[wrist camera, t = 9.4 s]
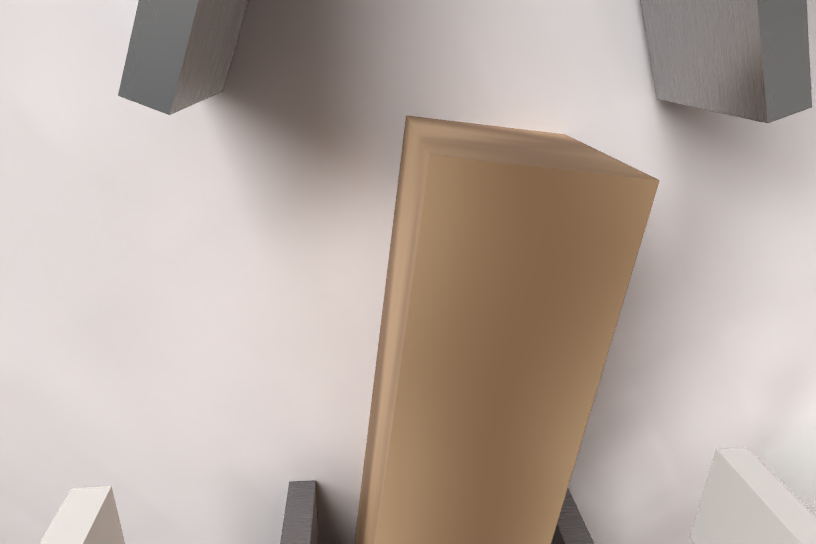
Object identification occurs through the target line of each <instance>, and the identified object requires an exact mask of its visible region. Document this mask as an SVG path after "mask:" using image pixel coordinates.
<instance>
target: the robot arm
mask: <svg viewBox="0 0 816 544" xmlns="http://www.w3.org/2000/svg"><path fill="white" fill-rule="evenodd" d="M690 539H691V540H692V542H693V543H694V544H816V517H815V516H814V515H813V514H812V513H811V512H810V511H809V510H808V509H807V508H806V507H805V506H804V505H803V503H802V502H801V501H800V500H799V499H798V498H797V497H796V496H795V495H794V494H793V493H792V492H791V491H790V490H789V489H788V488H787V487H786V486H785V485H784V484H783V483H782V482H781V481H780V480H779V479H778V478H777V477H776V476H775V475H774V474H773V473H772V472H771V471H770V470H769V469H768V468H767V467H766V466H765V465H764V464H763V463H762V462H761V461H760V460H759V459H758V458H757V456H756V455H755V454H754V453H753V452H752V451H751V450H750V449H749V448H748V447H741V448H725V449H716V452H715V455H714V458H713V462H712V465H711V468H710V472H709V475H708V478H707V482H706V485H705V488H704V492H703V495H702V498H701V502H700V505H699V508H698V512H697V515H696V518H695V522H694V525H693V528H692V532H691V535H690ZM39 544H125V542H124V538H123V533H122V529H121V525H120V521H119V516H118V512H117V508H116V504H115V499H114V495H113V491H112V486H103V487H87V488H71V490H70V491H69V493H68V495H67V496H66V498H65V500H64V502H63V503H62V505H61V507H60V509H59V510H58V512H57V514H56V515H55V517H54V519H53V521H52V522H51V524H50V526H49V528H48V529H47V531H46V533H45V534H44V536H43V538H42V540H41V541H40V543H39Z"/></svg>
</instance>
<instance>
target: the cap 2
mask: <svg viewBox="0 0 816 544" xmlns="http://www.w3.org/2000/svg"><path fill="white" fill-rule="evenodd" d="M280 544H319V542H318V522H317V502H316V481H297V482H289V488H288V494H287V501H286V508H285V515H284V522H283V529H282V536H281V543H280ZM551 544H594V542H593V540H592V538H591V536H590V534H589V532H588V530H587V528H586V525H585V523H584V521H583V519H582V517H581V515H580V513H579V510H578V508H577V506H576V504H575V502H574V500H573V498H572V496H571V493H570V491H569V489H568V488H567V491H566V495H565V498H564V502H563V505H562V508H561V512H560V515H559V518H558V522H557V525H556V528H555V532H554V535H553V538H552V542H551Z"/></svg>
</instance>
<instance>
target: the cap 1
mask: <svg viewBox="0 0 816 544" xmlns="http://www.w3.org/2000/svg"><path fill="white" fill-rule="evenodd" d="M247 4H248V0H139V2H138V7H137V11H136V16H135V21H134V25H133V30H132V34H131V39H130V43H129V48H128V53H127V57H126V62H125V66H124V71H123V76H122V80H121V85H120V89H119V94H118V96H121V97H123V98H126V99H128V100H131V101H134V102H136V103H139V104H142V105H144V106H147V107H150V108H152V109H155V110H158V111H160V112H163V113H166V114H168V115H171V114H173V113H175V112H178V111H180V110H182V109H184V108H187V107H189V106H191V105H193V104H196V103H198V102H200V101H202V100H205V99H207V98H209V97H211V96H214V95H216V94H218V93H220V92H223V89H224V86H225V82H226V79H227V75H228V71H229V68H230V64H231V61H232V57H233V54H234V50H235V47H236V43H237V39H238V36H239V32H240V29H241V25H242V22H243V18H244V14H245V11H246V7H247ZM641 6H642V12H643V18H644V24H645V30H646V36H647V42H648V48H649V55H650V61H651V67H652V73H653V79H654V85H655V91H656V97H657V99H659V100H664V101H668V102H673V103H677V104H682V105H687V106H691V107H696V108H700V109H705V110H709V111H714V112H719V113H723V114H728V115H732V116H737V117H741V118H746V119H750V120H755V121H760V122H764V123H770V122H773V121H775V120H778V119H781V118H784V117H786V116H789V115H792V114H795V113H797V112H800V111H803V110H806V109H808V108H811V107H812V98H811V79H810V60H809V42H808V23H807V4H806V0H641Z"/></svg>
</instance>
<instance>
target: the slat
mask: <svg viewBox="0 0 816 544" xmlns="http://www.w3.org/2000/svg"><path fill="white" fill-rule="evenodd" d="M658 184H659V180H658V179H656V178H654V177H652V176H649V175H647V174H645V173H643V172H641V171H639V170H637V169H635V168H633V167H631V166H629V165H627V164H625V163H623V162H621V161H619V160H617V159H615V158H612V157H610V156H608V155H606V154H604V153H602V152H600V151H598V150H596V149H594V148H592V147H590V146H588V145H586V144H584V143H582V142H580V141H577V140H575V139H573V138H571V137H569V136H567V135H565V134H556V133H548V132H540V131H531V130H523V129H514V128H506V127H498V126H489V125H481V124H472V123H464V122H455V121H447V120H439V119H430V118H422V117H413V116H406V121H405V130H404V138H403V146H402V154H401V163H400V171H399V179H398V187H397V196H396V204H395V212H394V220H393V229H392V237H391V245H390V253H389V262H388V270H387V278H386V287H385V295H384V303H383V311H382V320H381V328H380V336H379V344H378V353H377V361H376V369H375V377H374V386H373V394H372V402H371V410H370V419H369V427H368V435H367V443H366V452H365V460H364V468H363V477H362V485H361V493H360V501H359V510H358V518H357V526H356V534H355V543H354V544H551V542H552V538H553V535H554V532H555V528H556V525H557V522H558V518H559V515H560V512H561V508H562V505H563V502H564V498H565V495H566V491H567V488H568V485H569V481H570V478H571V475H572V471H573V468H574V465H575V461H576V458H577V455H578V451H579V448H580V445H581V441H582V438H583V435H584V431H585V428H586V425H587V421H588V418H589V415H590V411H591V408H592V405H593V401H594V398H595V394H596V391H597V388H598V384H599V381H600V378H601V374H602V371H603V368H604V364H605V361H606V358H607V354H608V351H609V348H610V344H611V341H612V338H613V334H614V331H615V328H616V324H617V321H618V318H619V314H620V311H621V308H622V304H623V301H624V297H625V294H626V291H627V287H628V284H629V281H630V277H631V274H632V271H633V267H634V264H635V261H636V257H637V254H638V251H639V247H640V244H641V241H642V237H643V234H644V231H645V227H646V224H647V221H648V217H649V214H650V211H651V207H652V204H653V201H654V197H655V194H656V190H657V187H658Z"/></svg>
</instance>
